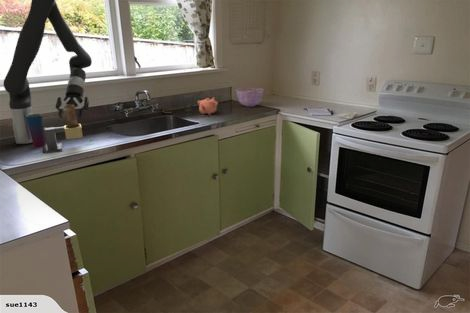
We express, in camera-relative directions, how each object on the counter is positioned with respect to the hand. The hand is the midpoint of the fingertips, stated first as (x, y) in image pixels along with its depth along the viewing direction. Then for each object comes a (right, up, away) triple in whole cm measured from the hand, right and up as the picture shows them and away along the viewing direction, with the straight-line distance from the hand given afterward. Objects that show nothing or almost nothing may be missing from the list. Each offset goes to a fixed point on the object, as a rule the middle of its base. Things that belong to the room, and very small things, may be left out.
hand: (70, 117), depth 175 cm
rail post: (0, -8, +4) cm, 9 cm away
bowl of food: (+87, +18, +98) cm, 132 cm away
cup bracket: (-5, -14, +4) cm, 15 cm away
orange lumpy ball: (+58, +10, +74) cm, 95 cm away
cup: (-18, -13, +8) cm, 24 cm away
